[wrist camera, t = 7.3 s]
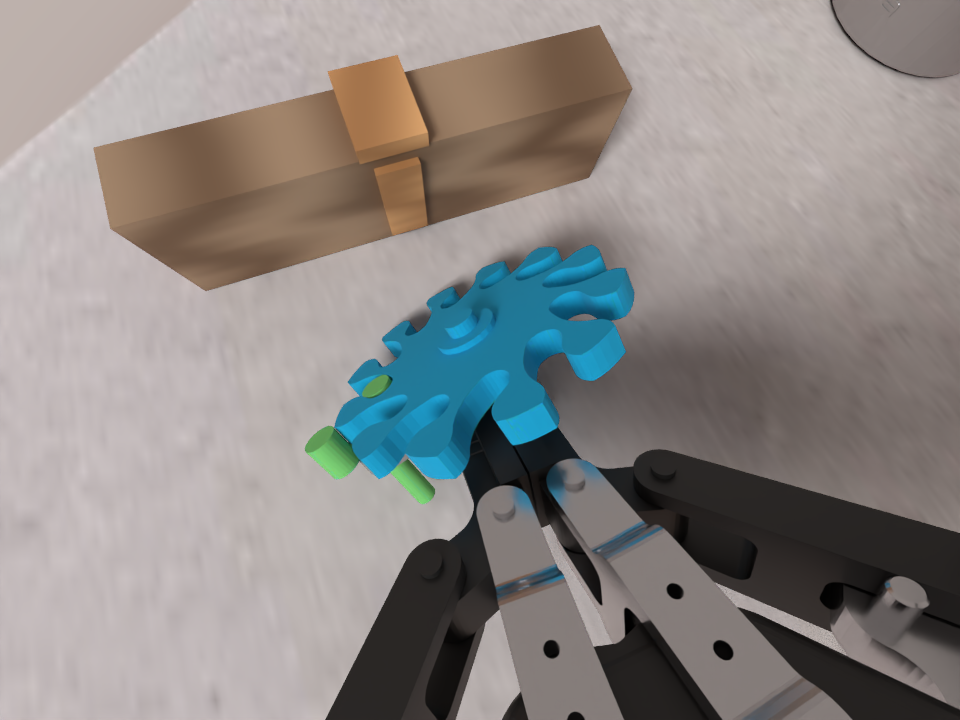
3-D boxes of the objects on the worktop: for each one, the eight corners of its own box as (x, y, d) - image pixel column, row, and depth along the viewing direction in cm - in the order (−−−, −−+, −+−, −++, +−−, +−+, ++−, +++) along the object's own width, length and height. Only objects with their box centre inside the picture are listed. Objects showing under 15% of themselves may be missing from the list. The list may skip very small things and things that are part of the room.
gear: (530, 215, 17) (715, 257, 8) (581, 325, 20) (760, 443, 11) (308, 361, 17) (262, 557, 8) (391, 451, 20) (422, 669, 11)
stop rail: (563, 125, 21) (603, 6, 15) (591, 182, 20) (643, 80, 14) (189, 228, 18) (76, 130, 13) (207, 297, 17) (95, 226, 12)
